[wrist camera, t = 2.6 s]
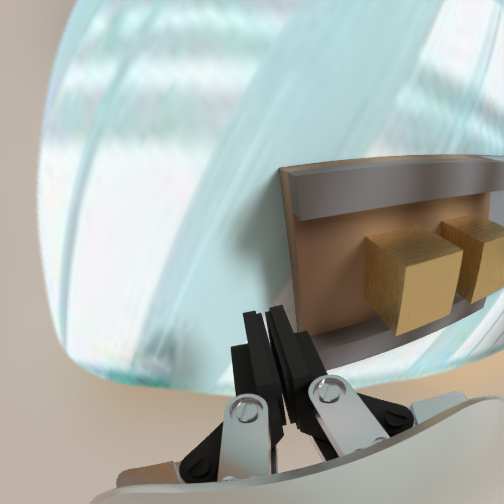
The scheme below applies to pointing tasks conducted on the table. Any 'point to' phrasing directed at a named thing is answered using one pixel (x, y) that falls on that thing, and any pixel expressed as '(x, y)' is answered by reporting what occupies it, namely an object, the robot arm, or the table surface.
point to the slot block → (364, 224)
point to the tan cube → (477, 254)
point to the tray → (496, 201)
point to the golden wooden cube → (410, 277)
